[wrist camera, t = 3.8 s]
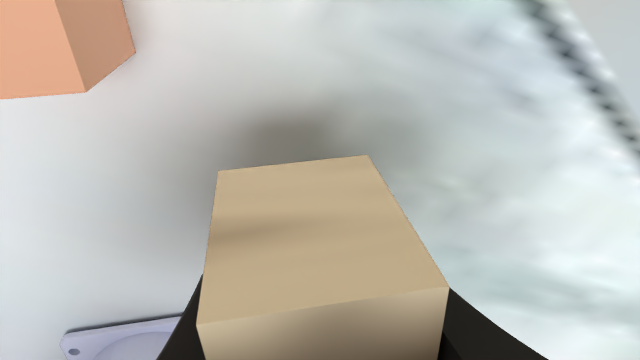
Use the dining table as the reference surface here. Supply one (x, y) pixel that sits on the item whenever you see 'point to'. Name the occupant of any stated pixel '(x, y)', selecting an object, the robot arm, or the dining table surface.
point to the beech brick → (316, 268)
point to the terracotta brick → (60, 45)
